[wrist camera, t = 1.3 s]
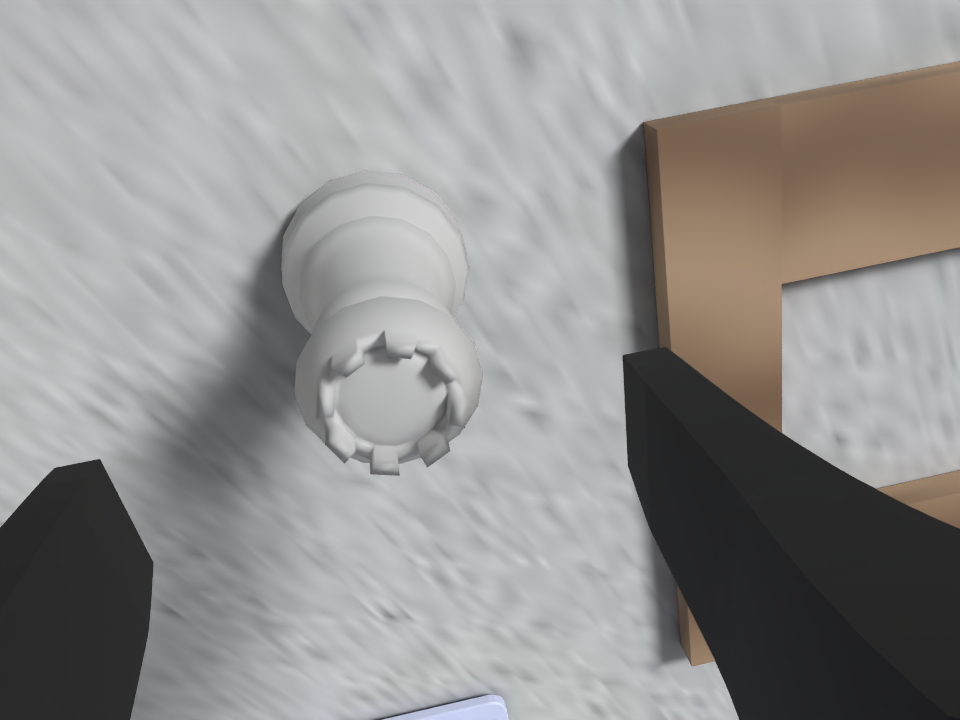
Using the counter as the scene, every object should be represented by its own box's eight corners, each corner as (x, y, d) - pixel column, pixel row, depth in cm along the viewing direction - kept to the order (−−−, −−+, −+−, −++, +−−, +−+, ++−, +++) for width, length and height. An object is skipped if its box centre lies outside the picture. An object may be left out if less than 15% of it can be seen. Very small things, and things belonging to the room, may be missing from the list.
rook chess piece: (431, 358, 23) (474, 544, 16) (261, 312, 22) (224, 494, 15) (489, 198, 21) (567, 325, 14) (309, 140, 20) (293, 247, 13)
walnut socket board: (1080, 550, 29) (1103, 570, 29) (680, 644, 29) (691, 666, 28) (1181, 18, 22) (1217, 21, 21) (643, 122, 21) (656, 129, 20)
